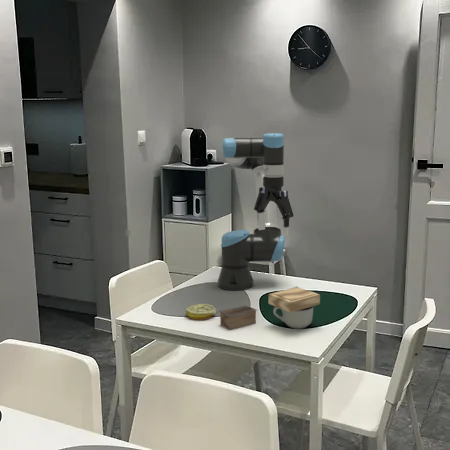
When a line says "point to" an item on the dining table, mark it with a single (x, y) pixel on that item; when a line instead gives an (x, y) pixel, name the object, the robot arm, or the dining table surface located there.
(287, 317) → the teacup
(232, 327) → the brown rectangular block
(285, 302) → the cover board
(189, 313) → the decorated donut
